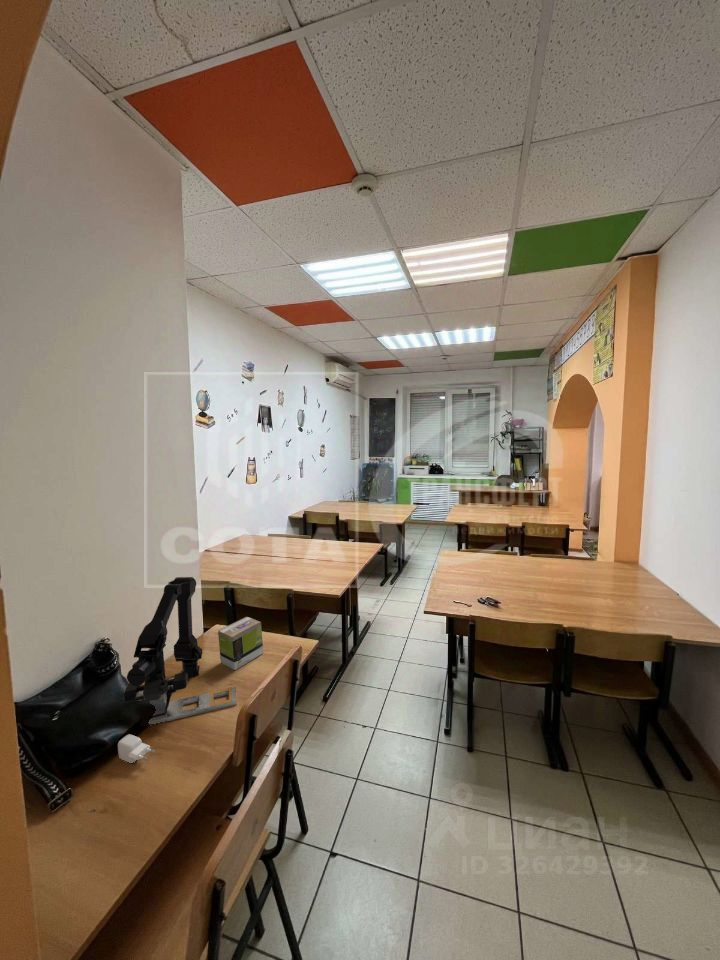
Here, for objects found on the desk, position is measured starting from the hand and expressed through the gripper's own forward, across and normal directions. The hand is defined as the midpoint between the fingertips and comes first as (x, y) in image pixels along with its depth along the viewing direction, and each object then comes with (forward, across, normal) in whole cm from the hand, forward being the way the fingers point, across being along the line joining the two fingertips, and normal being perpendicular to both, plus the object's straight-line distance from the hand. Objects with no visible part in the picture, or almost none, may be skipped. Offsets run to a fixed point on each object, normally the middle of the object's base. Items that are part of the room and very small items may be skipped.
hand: (158, 709), depth 128 cm
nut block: (+2, 0, 0) cm, 2 cm away
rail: (+2, +10, 0) cm, 10 cm away
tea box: (+3, +28, +25) cm, 38 cm away
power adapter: (+3, -3, -18) cm, 18 cm away
